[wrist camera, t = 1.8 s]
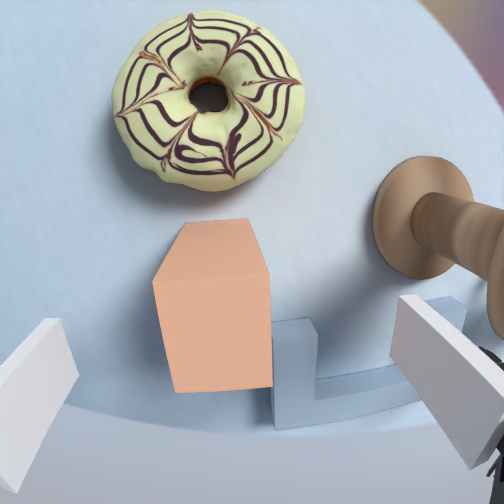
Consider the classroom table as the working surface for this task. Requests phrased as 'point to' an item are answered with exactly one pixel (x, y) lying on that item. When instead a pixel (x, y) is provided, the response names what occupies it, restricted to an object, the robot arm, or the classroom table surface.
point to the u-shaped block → (335, 388)
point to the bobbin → (440, 227)
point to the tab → (215, 308)
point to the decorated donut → (208, 124)
